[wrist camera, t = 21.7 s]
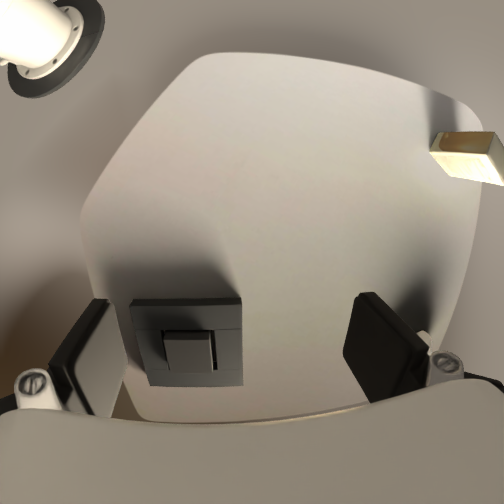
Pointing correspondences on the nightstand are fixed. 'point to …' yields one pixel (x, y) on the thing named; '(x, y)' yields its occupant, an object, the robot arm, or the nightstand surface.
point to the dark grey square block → (189, 351)
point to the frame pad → (190, 318)
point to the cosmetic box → (470, 155)
